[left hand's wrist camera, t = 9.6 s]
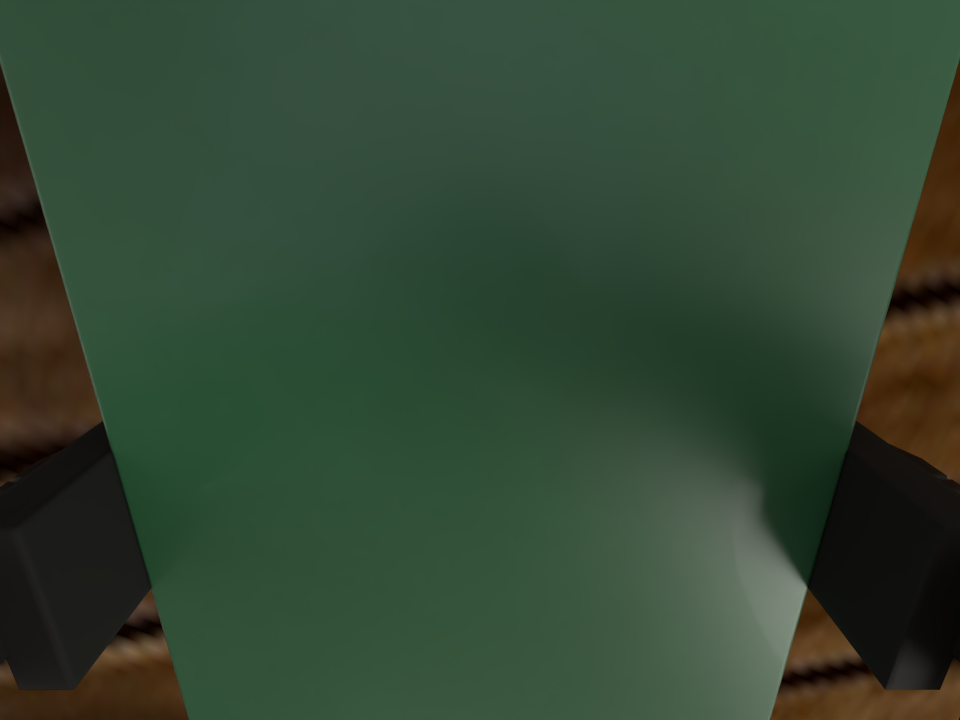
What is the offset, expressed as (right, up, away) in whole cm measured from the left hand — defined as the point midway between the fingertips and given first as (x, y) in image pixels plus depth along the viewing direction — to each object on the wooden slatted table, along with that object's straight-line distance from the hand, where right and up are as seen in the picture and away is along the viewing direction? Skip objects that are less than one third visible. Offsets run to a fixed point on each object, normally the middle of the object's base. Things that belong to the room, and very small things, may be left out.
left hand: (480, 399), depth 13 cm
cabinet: (0, +8, +3) cm, 8 cm away
